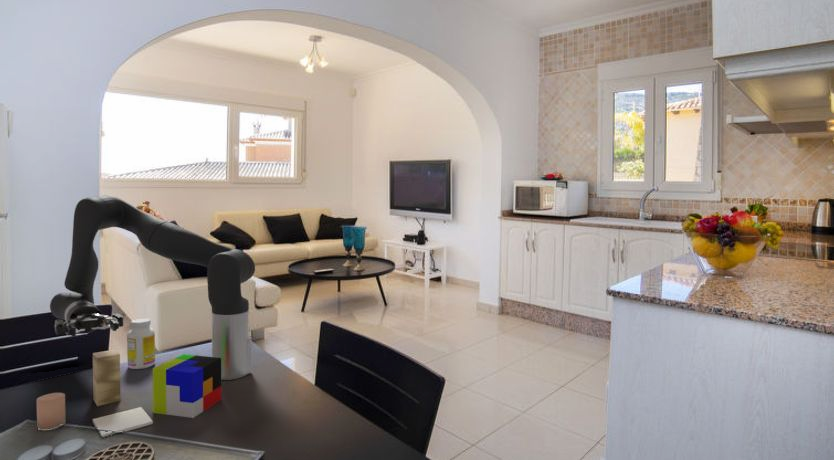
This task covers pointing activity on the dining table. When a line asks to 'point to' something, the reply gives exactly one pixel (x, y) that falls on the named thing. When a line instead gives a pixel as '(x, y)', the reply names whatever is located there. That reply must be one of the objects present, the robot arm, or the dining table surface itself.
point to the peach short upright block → (50, 410)
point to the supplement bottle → (141, 344)
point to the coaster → (123, 421)
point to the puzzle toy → (186, 385)
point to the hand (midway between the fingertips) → (95, 329)
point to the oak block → (106, 377)
